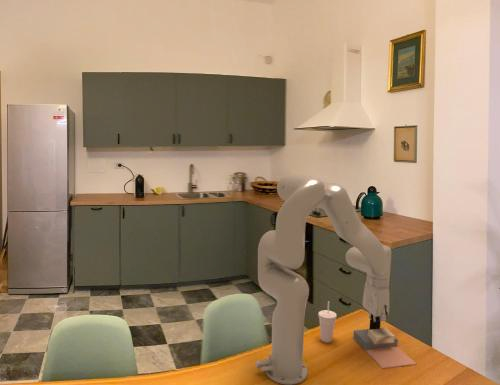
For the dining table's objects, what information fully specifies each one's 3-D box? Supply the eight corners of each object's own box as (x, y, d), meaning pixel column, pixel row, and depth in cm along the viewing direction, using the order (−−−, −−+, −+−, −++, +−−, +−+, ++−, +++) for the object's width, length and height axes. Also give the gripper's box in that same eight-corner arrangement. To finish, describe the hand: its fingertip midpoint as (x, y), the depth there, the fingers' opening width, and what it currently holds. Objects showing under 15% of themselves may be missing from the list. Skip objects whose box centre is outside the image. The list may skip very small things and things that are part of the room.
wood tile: (375, 344, 131) (375, 337, 130) (367, 336, 135) (368, 329, 135) (393, 342, 132) (394, 335, 132) (385, 334, 137) (386, 328, 136)
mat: (382, 368, 122) (382, 367, 122) (365, 350, 132) (365, 349, 132) (416, 364, 124) (416, 363, 124) (397, 347, 135) (397, 346, 135)
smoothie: (338, 338, 140) (340, 301, 138) (331, 346, 134) (333, 307, 133) (321, 333, 143) (322, 297, 141) (314, 340, 138) (315, 303, 136)
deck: (365, 350, 132) (365, 342, 132) (353, 338, 140) (353, 330, 140) (397, 347, 135) (397, 339, 134) (383, 335, 143) (384, 327, 142)
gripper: (357, 274, 141) (354, 322, 144) (380, 289, 127) (376, 342, 129) (375, 272, 143) (372, 320, 146) (400, 288, 129) (396, 340, 131)
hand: (374, 330), depth 137 cm, fingers closed
